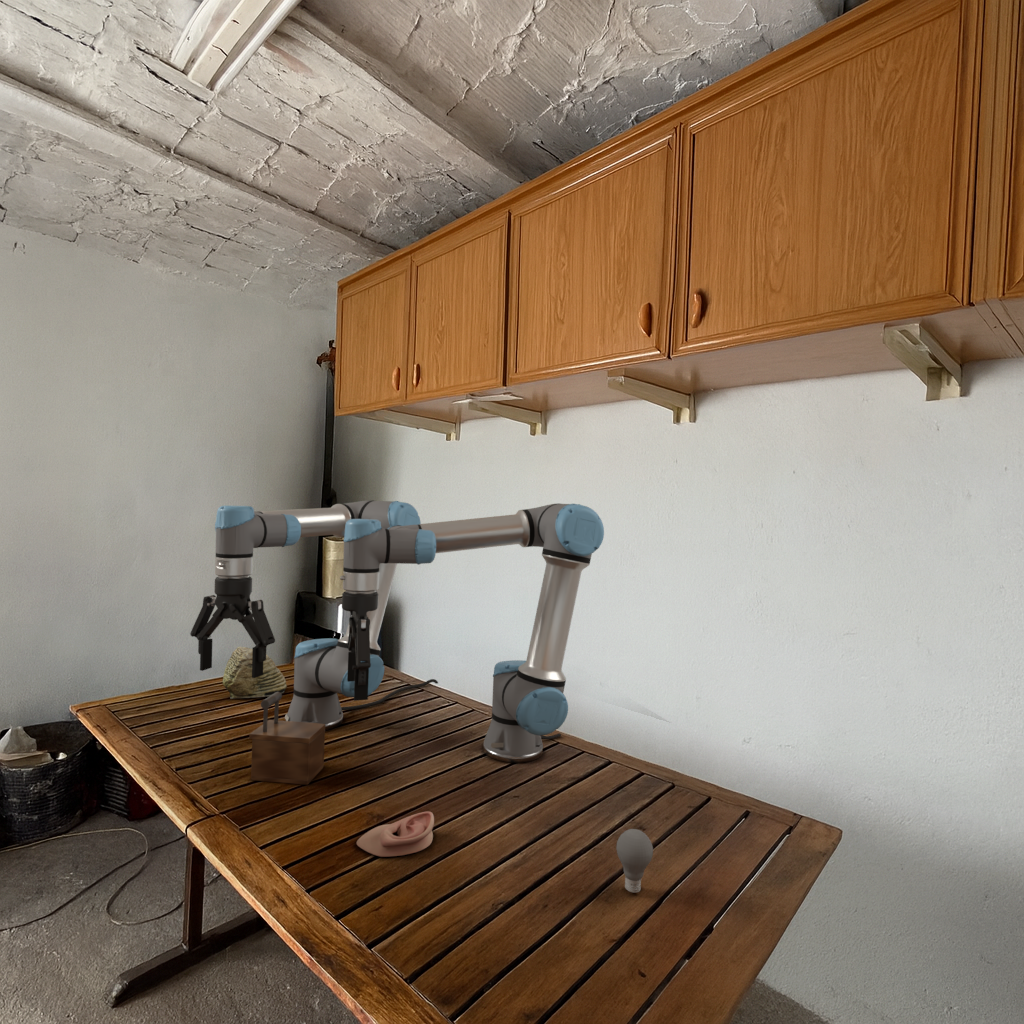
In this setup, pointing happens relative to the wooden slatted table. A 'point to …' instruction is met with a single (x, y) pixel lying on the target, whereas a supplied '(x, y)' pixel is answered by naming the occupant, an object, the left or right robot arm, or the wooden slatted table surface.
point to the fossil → (241, 676)
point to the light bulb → (634, 857)
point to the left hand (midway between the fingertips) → (231, 672)
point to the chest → (287, 760)
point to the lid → (284, 726)
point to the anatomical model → (399, 836)
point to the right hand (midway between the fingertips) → (357, 689)
